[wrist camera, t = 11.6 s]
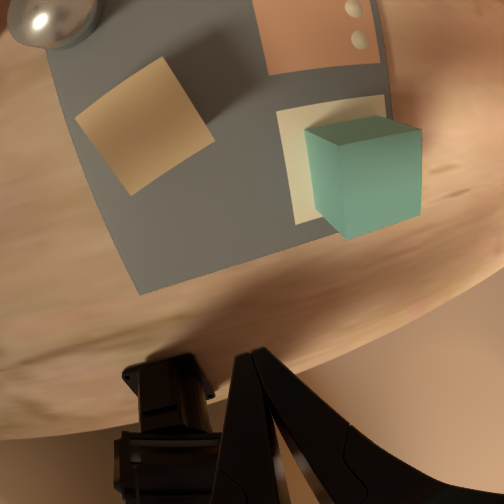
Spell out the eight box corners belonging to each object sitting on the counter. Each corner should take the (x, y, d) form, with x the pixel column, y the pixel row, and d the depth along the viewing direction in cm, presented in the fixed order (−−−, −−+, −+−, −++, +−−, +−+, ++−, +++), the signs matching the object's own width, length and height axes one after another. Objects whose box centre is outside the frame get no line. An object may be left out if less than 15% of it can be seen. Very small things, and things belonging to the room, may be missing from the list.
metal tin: (111, 31, 12) (99, 21, 9) (39, 63, 11) (15, 62, 9) (97, -32, 9) (85, -51, 7) (26, 1, 9) (2, -10, 6)
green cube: (382, 189, 20) (420, 215, 17) (315, 208, 19) (346, 240, 16) (378, 115, 17) (421, 129, 14) (303, 129, 17) (338, 146, 13)
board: (386, 208, 22) (394, 214, 21) (140, 285, 20) (139, 295, 19) (352, -56, 12) (360, -60, 11) (41, 0, 10) (34, -4, 9)
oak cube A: (204, 126, 15) (215, 140, 12) (138, 169, 16) (131, 196, 12) (163, 61, 13) (162, 56, 10) (95, 108, 13) (74, 118, 10)
